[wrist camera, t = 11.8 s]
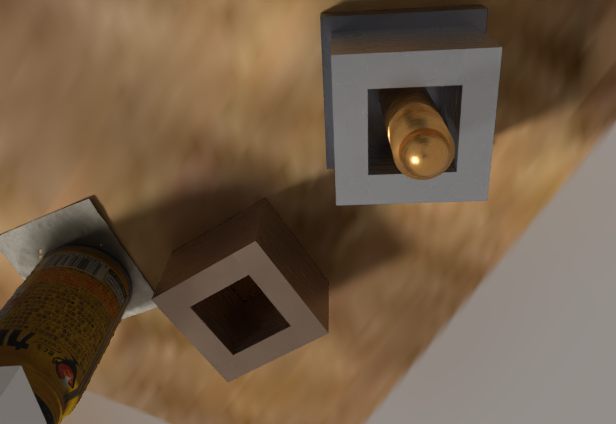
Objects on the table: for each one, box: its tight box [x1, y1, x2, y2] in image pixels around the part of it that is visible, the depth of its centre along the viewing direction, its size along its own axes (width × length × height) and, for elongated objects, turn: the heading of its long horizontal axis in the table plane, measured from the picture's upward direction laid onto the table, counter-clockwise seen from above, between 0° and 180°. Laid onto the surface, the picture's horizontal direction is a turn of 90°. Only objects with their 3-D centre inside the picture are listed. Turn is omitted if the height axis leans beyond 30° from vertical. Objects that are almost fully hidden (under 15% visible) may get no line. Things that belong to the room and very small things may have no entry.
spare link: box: [151, 198, 329, 382], centre depth 34 cm, size 7×7×5 cm
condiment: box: [0, 199, 157, 424], centre depth 32 cm, size 7×8×12 cm
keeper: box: [320, 5, 488, 180], centre depth 27 cm, size 8×8×10 cm
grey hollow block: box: [331, 25, 502, 206], centre depth 28 cm, size 7×7×5 cm
